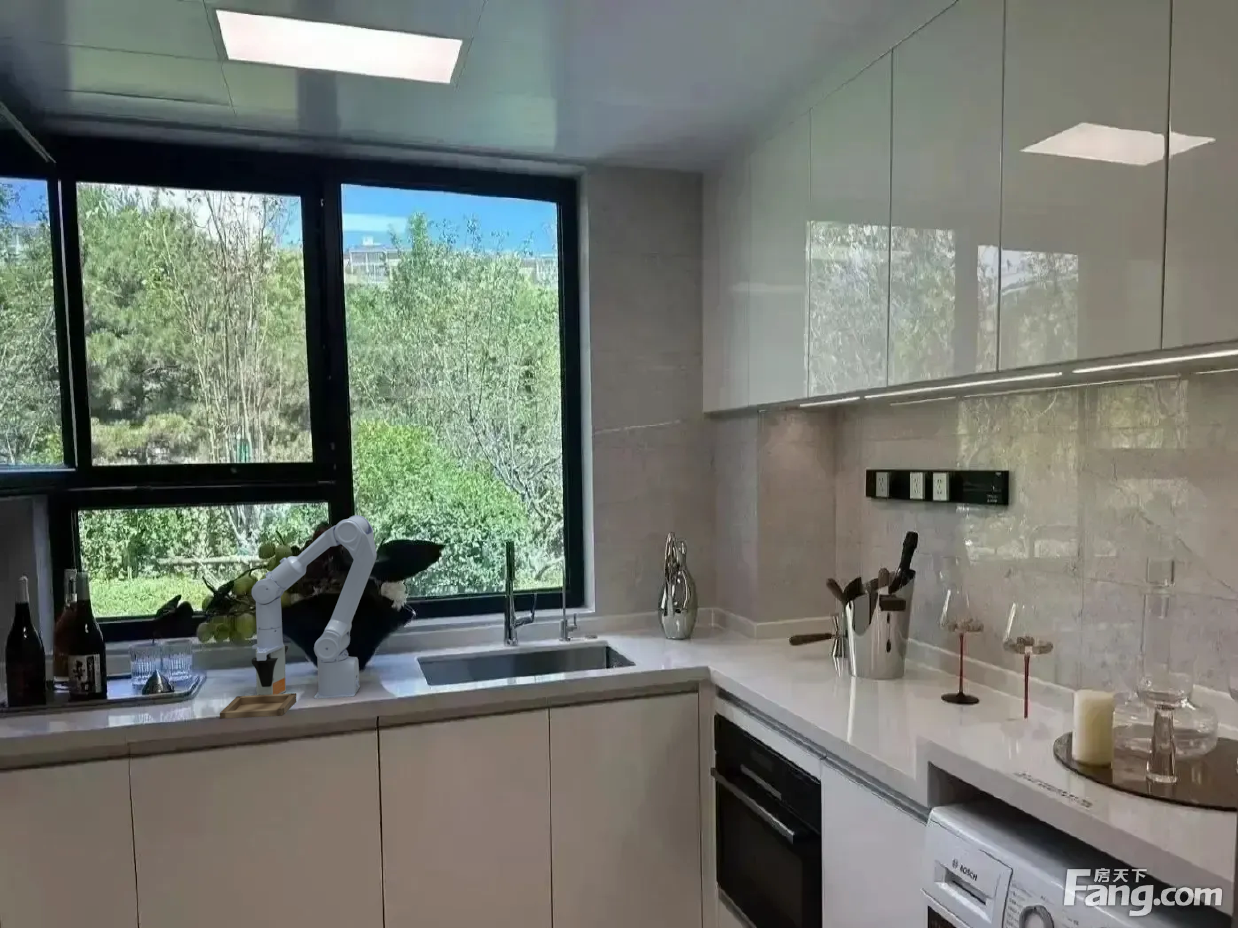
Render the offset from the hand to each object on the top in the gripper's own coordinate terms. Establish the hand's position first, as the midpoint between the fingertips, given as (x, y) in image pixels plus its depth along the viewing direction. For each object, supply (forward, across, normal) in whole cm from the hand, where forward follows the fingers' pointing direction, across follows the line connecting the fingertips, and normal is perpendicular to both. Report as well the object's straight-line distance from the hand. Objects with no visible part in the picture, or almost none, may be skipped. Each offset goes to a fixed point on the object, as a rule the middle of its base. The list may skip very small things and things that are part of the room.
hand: (271, 681), depth 201 cm
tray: (+3, +13, +1) cm, 13 cm away
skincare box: (+4, 0, 0) cm, 4 cm away
